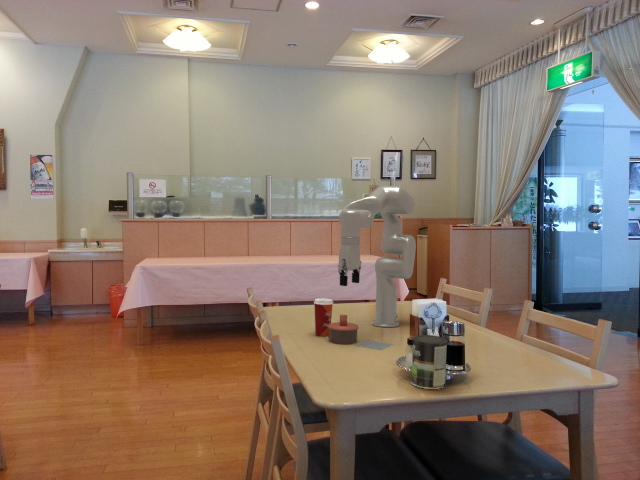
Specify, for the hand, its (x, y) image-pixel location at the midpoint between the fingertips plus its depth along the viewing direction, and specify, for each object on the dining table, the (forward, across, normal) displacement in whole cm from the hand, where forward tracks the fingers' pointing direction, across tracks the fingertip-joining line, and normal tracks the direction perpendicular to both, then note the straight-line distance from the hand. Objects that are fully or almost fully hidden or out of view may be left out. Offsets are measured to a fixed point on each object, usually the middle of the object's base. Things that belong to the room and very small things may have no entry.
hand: (349, 284), depth 216 cm
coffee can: (+22, +33, +46) cm, 61 cm away
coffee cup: (+23, -2, -14) cm, 27 cm away
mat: (+23, +1, +12) cm, 26 cm away
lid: (+17, +3, -1) cm, 17 cm away
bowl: (+23, +4, -1) cm, 23 cm away
